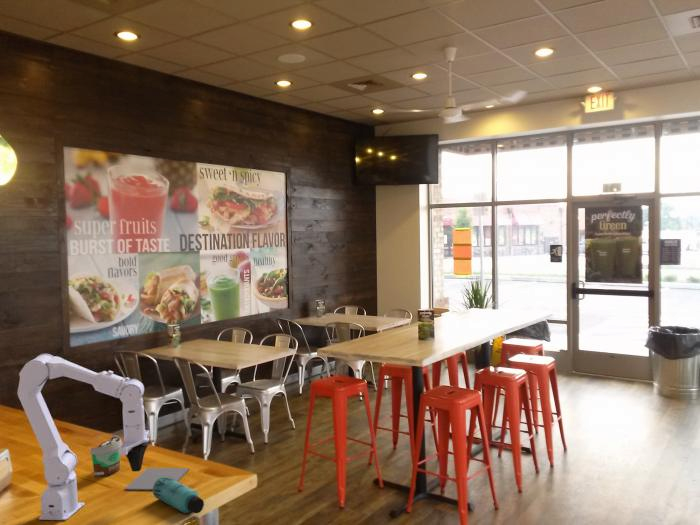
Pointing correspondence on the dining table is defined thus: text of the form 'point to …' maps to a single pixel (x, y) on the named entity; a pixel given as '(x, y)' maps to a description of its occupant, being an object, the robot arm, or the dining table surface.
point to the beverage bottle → (177, 495)
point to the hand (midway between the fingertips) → (136, 470)
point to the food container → (106, 457)
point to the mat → (155, 477)
